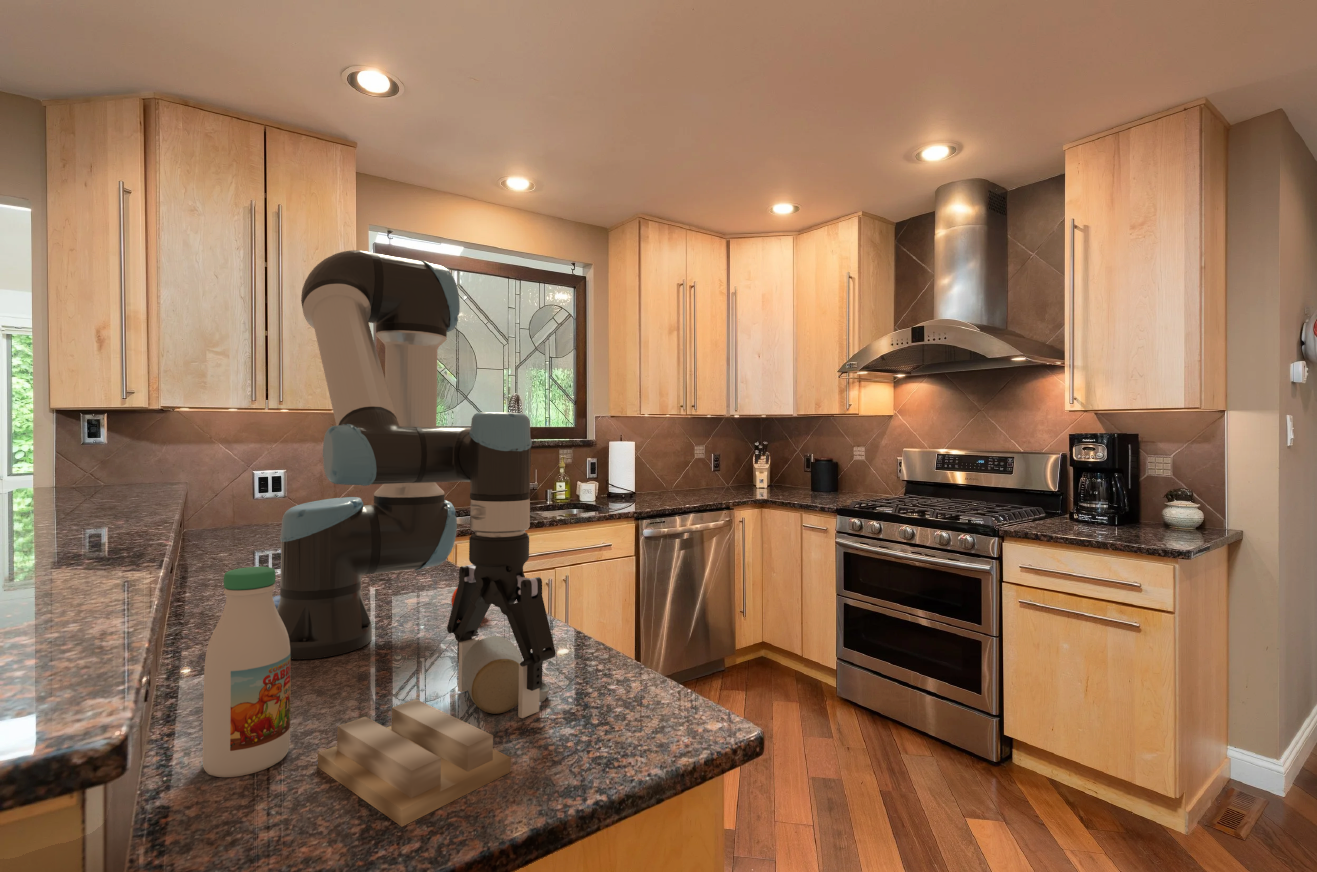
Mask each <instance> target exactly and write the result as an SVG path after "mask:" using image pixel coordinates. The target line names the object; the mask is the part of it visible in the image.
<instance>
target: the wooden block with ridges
mask: <svg viewBox="0 0 1317 872" xmlns="http://www.w3.org/2000/svg"><path fill="white" fill-rule="evenodd" d="M336 737H337V739H336V741H337V742H336V745H335V746H332V747H329V748H327V749H323V750H321V751H318V752H317V768H318V769H319V770H321V771H322V772H323V773H325V774H327V775H328V776H329V777H331V778H332V779H333V780H335V781H336V782H338V783H339V784H341V785H342V786H343V787H345V788H346V789H348V790H349V791H351V792H352V793H353V794H354V795H356V796H358V797H359V798H360V799H362V800H363V801H364V802H366V803H367V804H369V805H370V806H371V807H373V808H374V809H376V810H377V811H379V812H380V813H381V814H383V815H385V816H386V817H387V818H389V819H390V820H391V821H393V822H395V823H396V824H397V825H398V826H400V827H401V828H402V827H405V826H407V825H408V824H410V823H412V822H415V821H417V820H419V819H420V818H423V817H424V816H426V815H429V814H430V813H432V812H434V811H436V810H438V809H440V808H443V807H444V806H446V805H449V804H450V803H452V802H455V800H458V799H460V798H462V797H464V796H466V795H468V794H470V793H472V792H473V791H476V790H478V789H480V788H482V787H484V786H486V785H488V784H490V783H492V782H494V781H496V780H498V779H499V778H501V777H503V776H506V775H508V774H509V773H511V772H512V768H511V767H512V765H511V763H512V756H511V757H510V756H509V755H507V754H504V753H503V752H500V751H499V750H497V749H495V748H494V734H491V733H489V732H487V731H484V730H482V729H480V728H478V727H476V726H474V725H473V724H470V723H467V722H466V721H464V720H462V719H460V718H457V717H455V716H452V715H451V714H448V713H447V712H445V711H442V710H440V709H438V708H436V707H434V706H431V705H430V704H427V703H425V702H424V701H422V700H419V699H412V700H410V701H406V702H405V703H401V704H398V705H395V706H392V707H391V725H389V726H384V725H383V724H380V723H378V722H377V721H374V720H372V719H371V718H369V717H367V716H363V717H360V718H357V719H354V720H351V721H349V722H346V723H343V724H339V725H337V735H336Z"/></svg>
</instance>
